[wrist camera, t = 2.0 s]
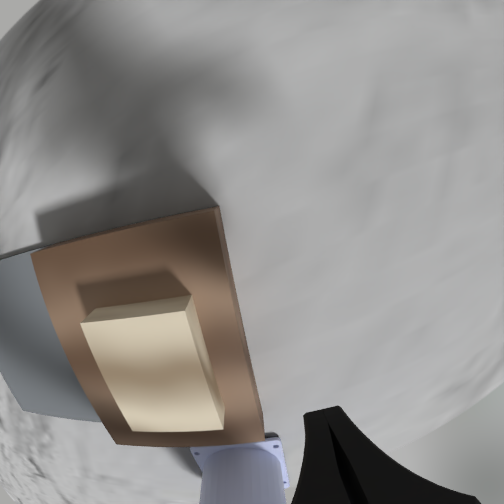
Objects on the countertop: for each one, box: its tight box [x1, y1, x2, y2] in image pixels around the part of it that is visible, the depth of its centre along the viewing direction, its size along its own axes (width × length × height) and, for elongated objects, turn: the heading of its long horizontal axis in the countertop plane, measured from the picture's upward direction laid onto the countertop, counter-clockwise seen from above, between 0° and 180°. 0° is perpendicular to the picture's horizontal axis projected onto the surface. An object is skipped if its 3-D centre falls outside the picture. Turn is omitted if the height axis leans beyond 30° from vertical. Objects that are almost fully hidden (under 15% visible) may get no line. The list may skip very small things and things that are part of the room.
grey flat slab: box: [0, 245, 102, 422], centre depth 19 cm, size 16×14×1 cm
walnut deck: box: [30, 206, 265, 447], centre depth 17 cm, size 16×12×3 cm
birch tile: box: [80, 295, 225, 432], centre depth 15 cm, size 8×6×2 cm
